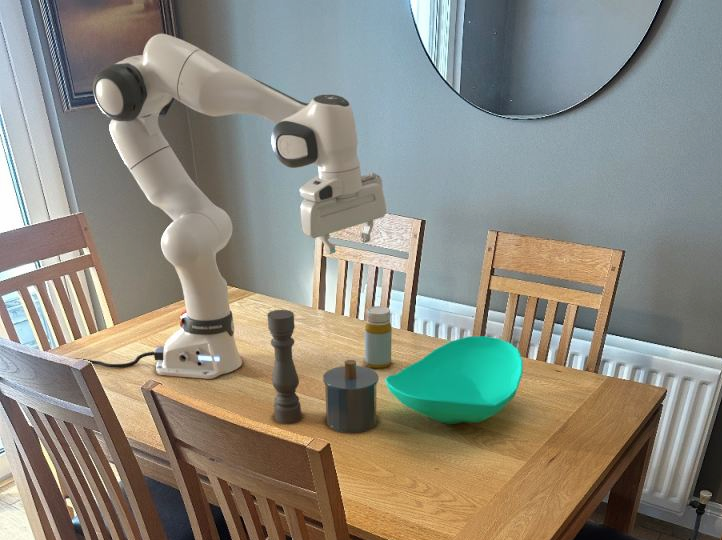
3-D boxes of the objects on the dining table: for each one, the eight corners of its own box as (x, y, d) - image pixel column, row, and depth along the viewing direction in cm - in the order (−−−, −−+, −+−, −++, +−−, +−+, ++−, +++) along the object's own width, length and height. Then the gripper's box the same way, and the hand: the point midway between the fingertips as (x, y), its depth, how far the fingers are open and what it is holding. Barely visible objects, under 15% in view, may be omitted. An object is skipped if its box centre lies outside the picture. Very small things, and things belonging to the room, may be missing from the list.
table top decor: (447, 374, 193) (450, 325, 186) (542, 402, 180) (550, 351, 172) (355, 431, 167) (354, 377, 159) (458, 469, 154) (463, 413, 146)
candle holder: (305, 413, 174) (299, 311, 160) (294, 425, 169) (287, 320, 155) (281, 409, 176) (273, 307, 161) (270, 421, 171) (261, 317, 156)
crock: (325, 433, 166) (324, 390, 160) (327, 409, 176) (326, 368, 170) (376, 432, 167) (376, 390, 160) (375, 409, 176) (375, 368, 170)
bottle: (392, 359, 201) (392, 306, 192) (389, 369, 195) (390, 315, 187) (367, 358, 202) (366, 305, 193) (363, 368, 196) (363, 314, 187)
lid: (321, 394, 160) (320, 373, 157) (324, 370, 170) (323, 350, 168) (379, 393, 160) (379, 373, 158) (377, 370, 171) (378, 350, 168)
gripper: (372, 168, 162) (378, 232, 170) (292, 190, 153) (303, 256, 162) (388, 173, 158) (394, 238, 166) (308, 195, 149) (318, 262, 158)
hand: (348, 247), depth 164 cm, fingers open, 8 cm apart
